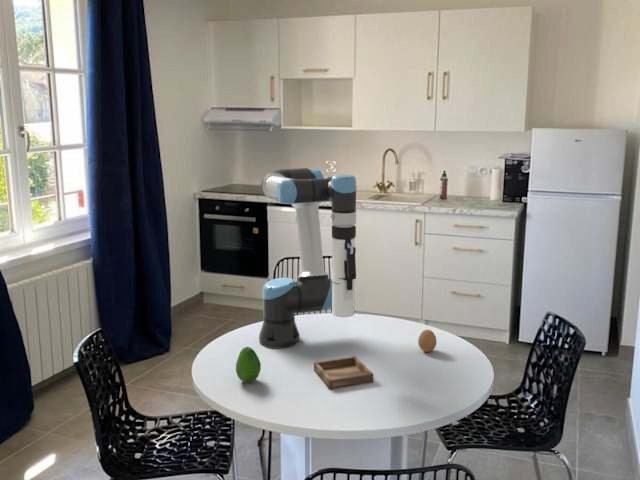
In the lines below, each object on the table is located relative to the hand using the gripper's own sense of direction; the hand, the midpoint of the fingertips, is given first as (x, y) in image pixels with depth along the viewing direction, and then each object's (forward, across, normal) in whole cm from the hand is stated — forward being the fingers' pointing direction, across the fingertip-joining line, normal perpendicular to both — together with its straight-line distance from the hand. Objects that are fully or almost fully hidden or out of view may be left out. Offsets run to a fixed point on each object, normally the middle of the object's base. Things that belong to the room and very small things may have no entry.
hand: (343, 295), depth 206 cm
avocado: (+28, -8, -30) cm, 42 cm away
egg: (+28, -10, +36) cm, 47 cm away
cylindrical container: (+6, 0, 0) cm, 6 cm away
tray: (+28, -1, 0) cm, 28 cm away
